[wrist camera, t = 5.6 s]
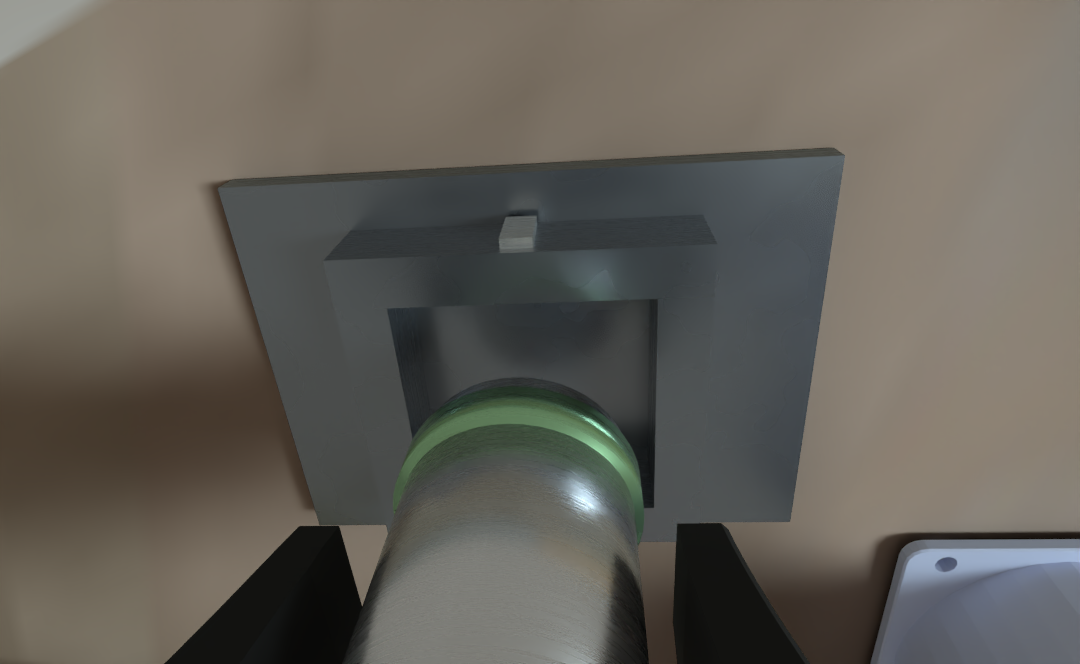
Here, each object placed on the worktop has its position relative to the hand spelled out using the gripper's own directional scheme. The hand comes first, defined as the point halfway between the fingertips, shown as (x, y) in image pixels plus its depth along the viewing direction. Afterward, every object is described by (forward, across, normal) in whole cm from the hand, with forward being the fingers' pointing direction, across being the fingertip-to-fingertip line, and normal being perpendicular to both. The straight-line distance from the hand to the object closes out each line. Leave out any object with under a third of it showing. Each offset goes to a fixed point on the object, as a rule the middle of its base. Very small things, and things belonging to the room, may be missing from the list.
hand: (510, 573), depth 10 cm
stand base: (+6, 0, 0) cm, 6 cm away
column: (+2, 0, 0) cm, 2 cm away
